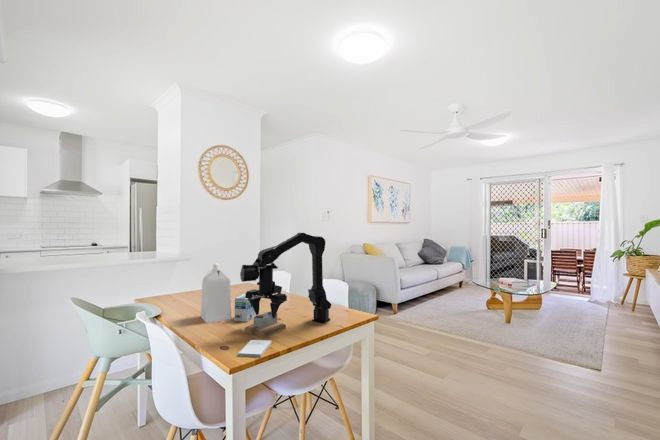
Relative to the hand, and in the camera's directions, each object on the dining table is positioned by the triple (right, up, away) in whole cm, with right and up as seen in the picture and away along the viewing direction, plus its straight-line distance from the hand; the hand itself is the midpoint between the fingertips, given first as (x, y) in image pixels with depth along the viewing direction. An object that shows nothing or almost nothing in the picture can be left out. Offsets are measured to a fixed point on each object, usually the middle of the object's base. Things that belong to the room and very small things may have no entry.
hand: (265, 316), depth 125 cm
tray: (0, -6, 0) cm, 6 cm away
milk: (-28, -7, +17) cm, 34 cm away
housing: (0, -4, 0) cm, 4 cm away
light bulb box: (-13, -7, +17) cm, 22 cm away
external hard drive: (+1, -6, -19) cm, 20 cm away
